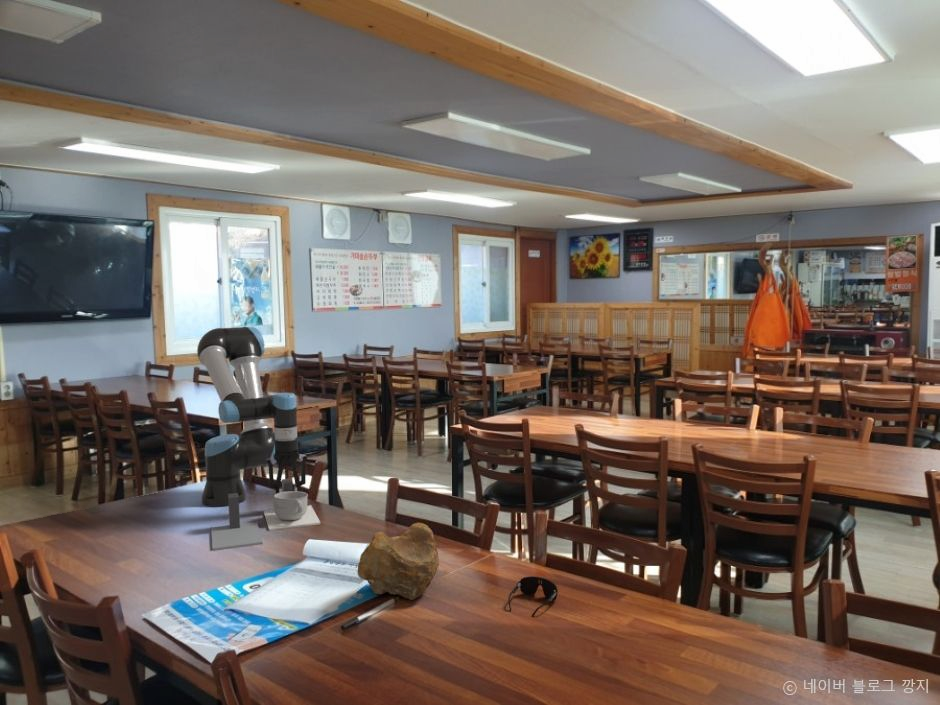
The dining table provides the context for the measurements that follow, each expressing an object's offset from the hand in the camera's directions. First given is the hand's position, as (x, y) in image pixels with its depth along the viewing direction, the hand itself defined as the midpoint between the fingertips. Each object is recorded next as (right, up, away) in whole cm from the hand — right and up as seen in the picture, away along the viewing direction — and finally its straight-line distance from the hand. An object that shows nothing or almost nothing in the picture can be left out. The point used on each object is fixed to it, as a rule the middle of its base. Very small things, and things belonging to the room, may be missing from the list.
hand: (288, 506), depth 240 cm
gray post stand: (-10, -4, -23) cm, 26 cm away
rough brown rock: (+46, -7, -64) cm, 79 cm away
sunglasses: (+77, -8, -73) cm, 106 cm away
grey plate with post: (+3, -3, -7) cm, 7 cm away
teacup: (+4, -2, -10) cm, 11 cm away
